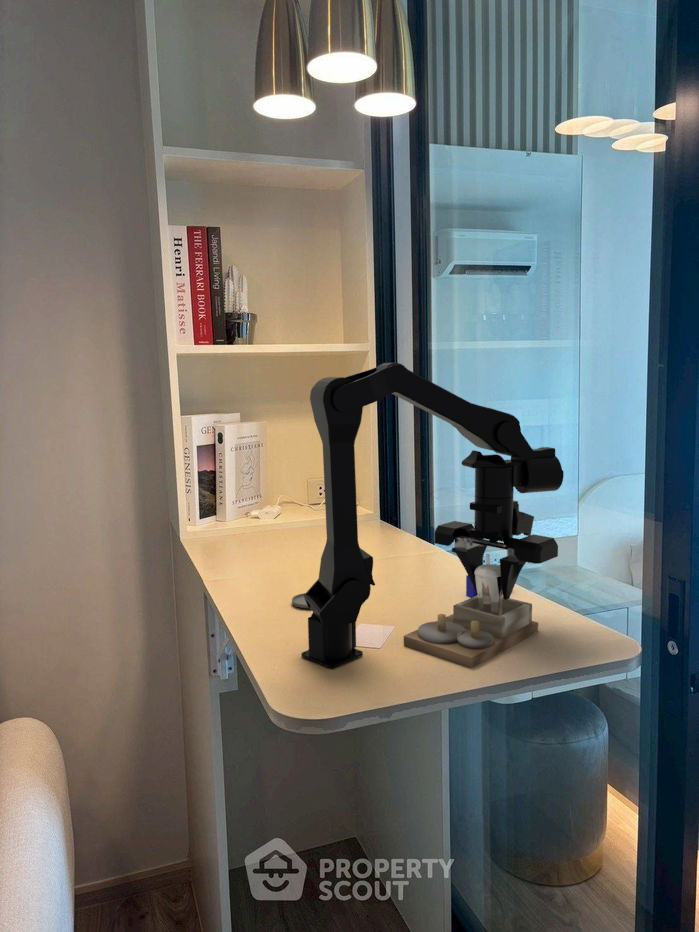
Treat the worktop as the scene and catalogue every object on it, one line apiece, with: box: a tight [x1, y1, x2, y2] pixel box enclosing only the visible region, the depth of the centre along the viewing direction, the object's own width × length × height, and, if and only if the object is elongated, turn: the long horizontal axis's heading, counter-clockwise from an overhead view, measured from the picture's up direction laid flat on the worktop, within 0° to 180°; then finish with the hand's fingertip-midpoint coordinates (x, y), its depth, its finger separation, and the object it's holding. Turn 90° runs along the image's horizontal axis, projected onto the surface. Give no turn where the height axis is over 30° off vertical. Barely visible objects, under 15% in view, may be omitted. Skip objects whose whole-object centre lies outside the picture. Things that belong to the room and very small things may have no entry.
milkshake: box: [474, 553, 503, 616], centre depth 109 cm, size 4×5×10 cm
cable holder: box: [465, 574, 478, 599], centre depth 129 cm, size 8×4×4 cm, turn 119°
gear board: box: [403, 595, 539, 669], centre depth 107 cm, size 18×12×4 cm, turn 136°
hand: (492, 595), depth 109 cm, fingers open, 5 cm apart
